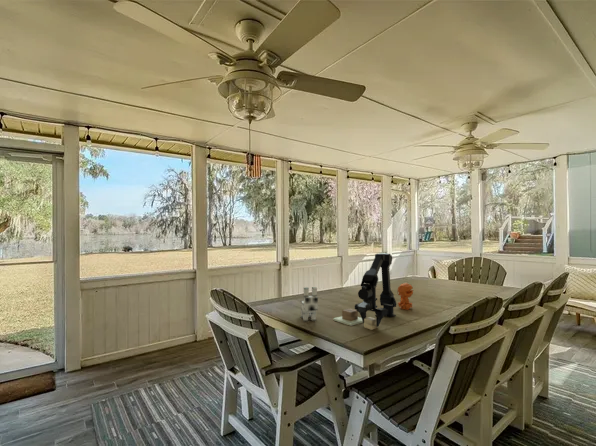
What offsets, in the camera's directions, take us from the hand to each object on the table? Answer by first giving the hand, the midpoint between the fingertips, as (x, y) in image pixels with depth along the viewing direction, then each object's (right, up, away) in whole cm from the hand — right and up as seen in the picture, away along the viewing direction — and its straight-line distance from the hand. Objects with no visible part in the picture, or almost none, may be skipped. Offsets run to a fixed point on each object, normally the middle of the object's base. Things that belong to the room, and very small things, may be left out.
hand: (370, 324), depth 173 cm
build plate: (-9, -2, +13) cm, 16 cm away
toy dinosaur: (+34, -3, +41) cm, 53 cm away
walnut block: (-9, -1, +13) cm, 16 cm away
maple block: (0, -2, 0) cm, 2 cm away
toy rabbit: (-34, -2, +16) cm, 38 cm away
